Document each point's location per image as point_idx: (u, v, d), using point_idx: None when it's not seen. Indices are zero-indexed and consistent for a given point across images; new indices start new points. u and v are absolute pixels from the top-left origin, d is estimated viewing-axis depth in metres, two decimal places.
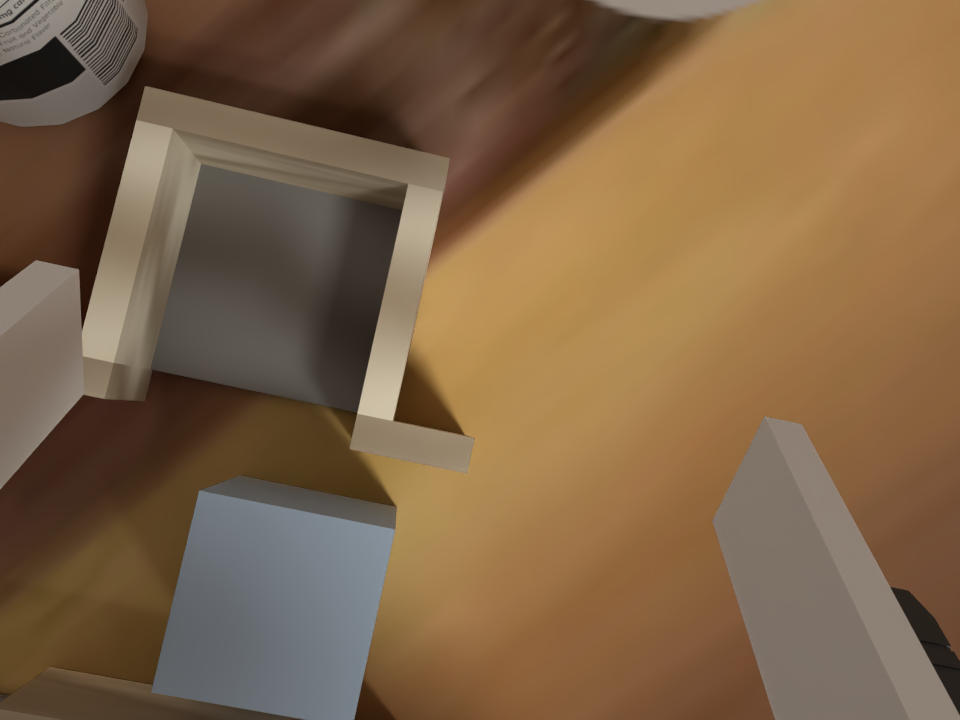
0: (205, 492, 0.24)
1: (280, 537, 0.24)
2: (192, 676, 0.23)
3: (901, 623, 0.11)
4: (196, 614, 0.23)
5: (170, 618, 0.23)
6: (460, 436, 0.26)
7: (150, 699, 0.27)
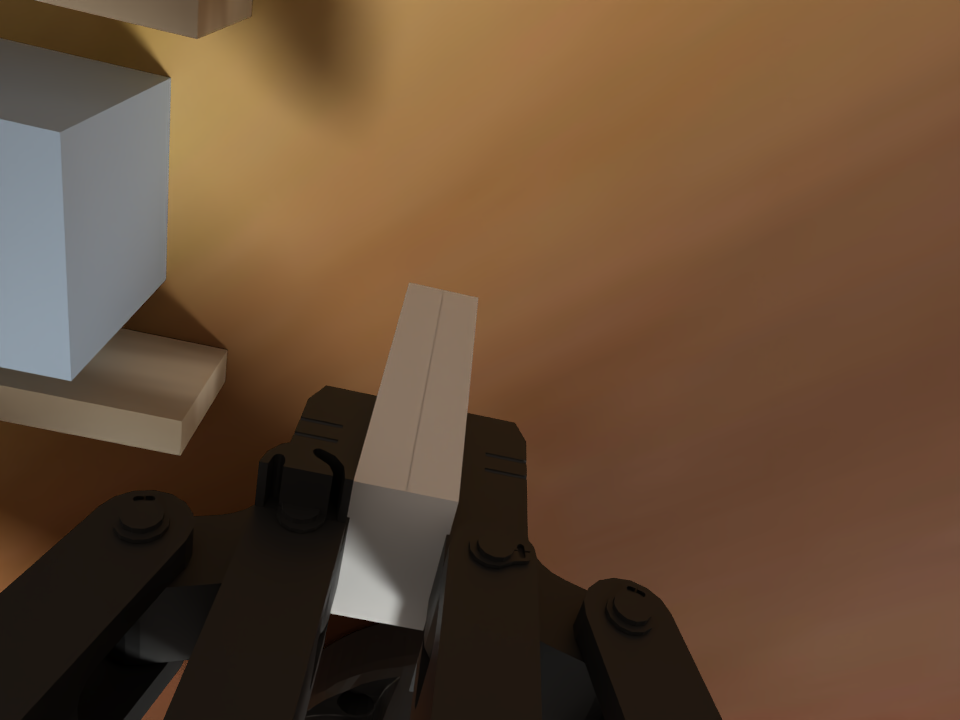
0: None
1: None
2: None
3: (456, 428, 0.12)
4: None
5: None
6: None
7: None
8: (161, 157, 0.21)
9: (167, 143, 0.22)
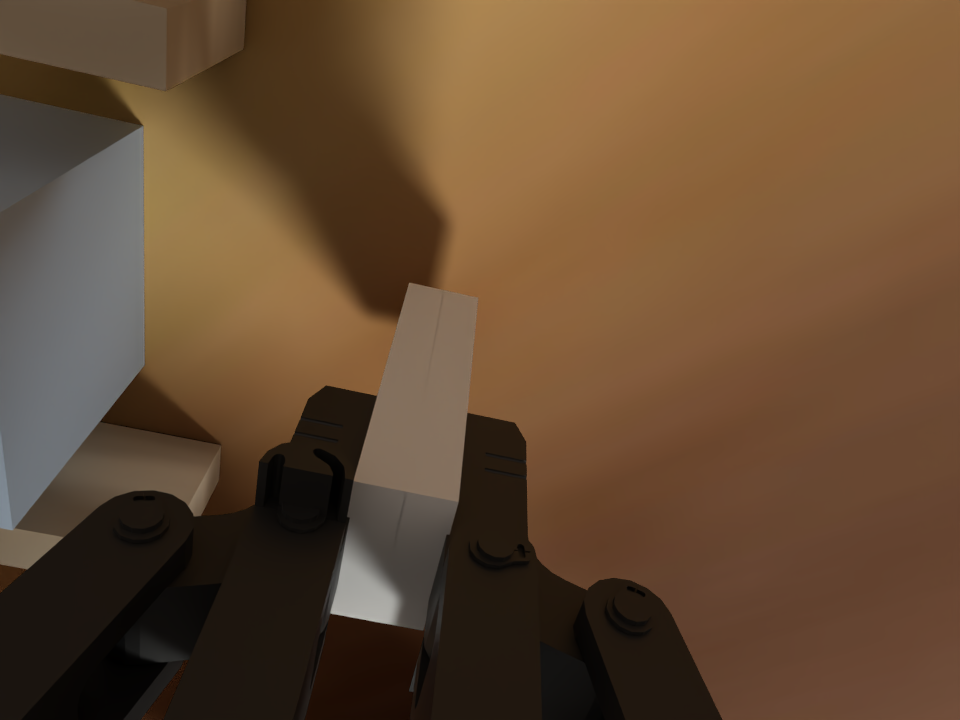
0: None
1: None
2: None
3: (456, 429, 0.12)
4: None
5: None
6: (132, 4, 0.11)
7: None
8: (133, 224, 0.17)
9: (141, 205, 0.17)
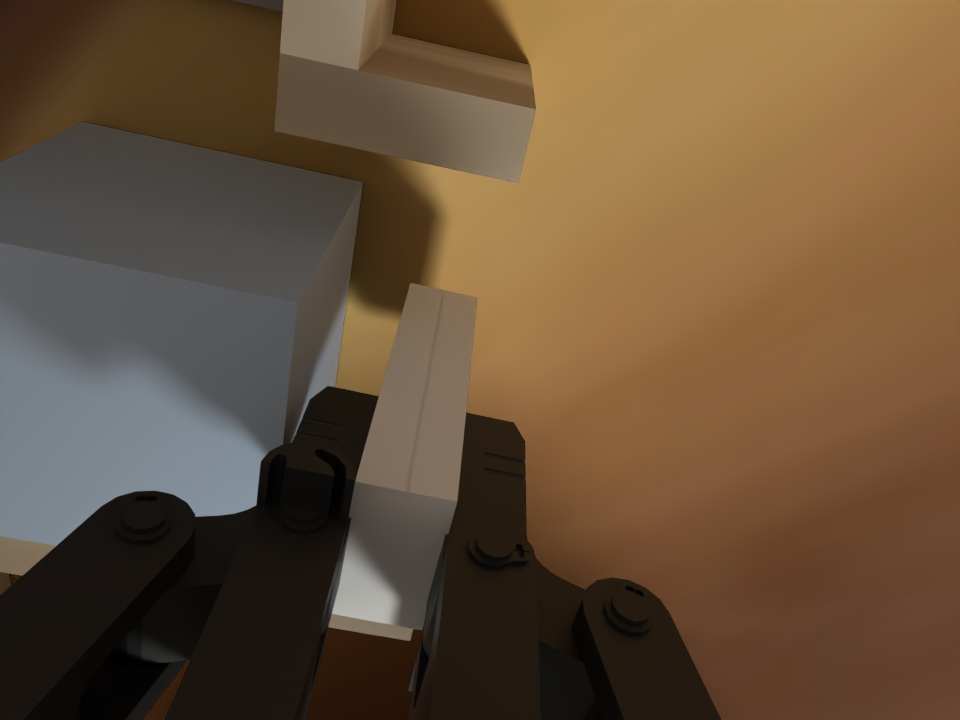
0: None
1: (74, 311, 0.12)
2: None
3: (454, 428, 0.12)
4: None
5: None
6: (505, 105, 0.12)
7: None
8: (346, 277, 0.17)
9: (351, 258, 0.18)
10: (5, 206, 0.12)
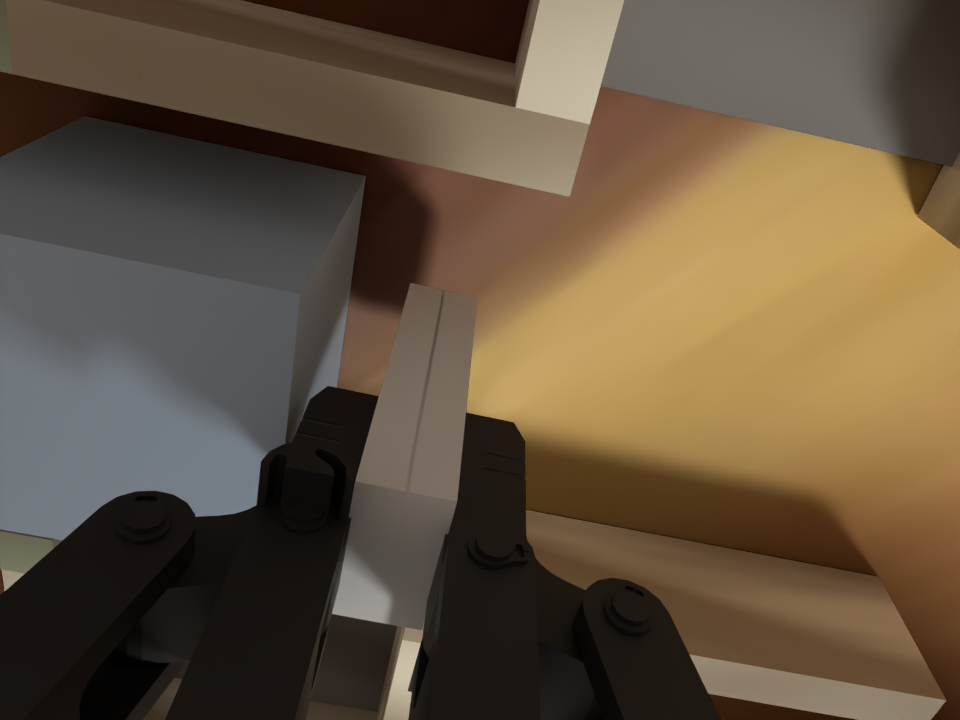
0: None
1: (77, 303, 0.12)
2: None
3: (454, 428, 0.12)
4: None
5: None
6: None
7: (574, 552, 0.20)
8: (349, 272, 0.17)
9: (354, 253, 0.18)
10: (8, 198, 0.12)
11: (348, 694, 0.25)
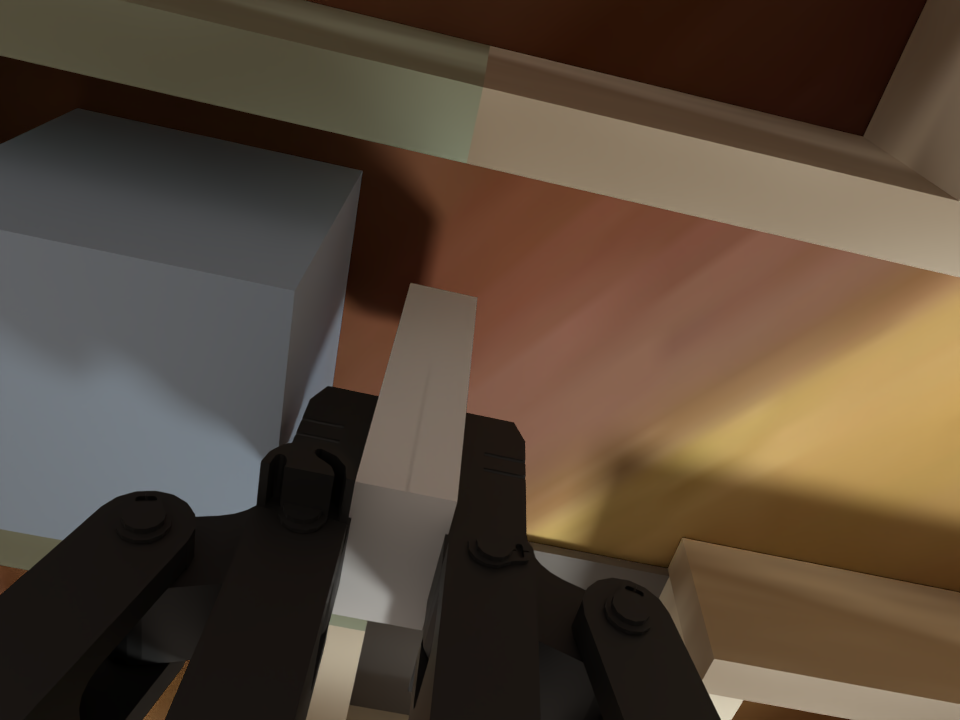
0: None
1: (67, 298, 0.12)
2: None
3: (454, 428, 0.12)
4: None
5: None
6: None
7: (836, 601, 0.21)
8: (345, 267, 0.17)
9: (350, 249, 0.17)
10: None
11: None
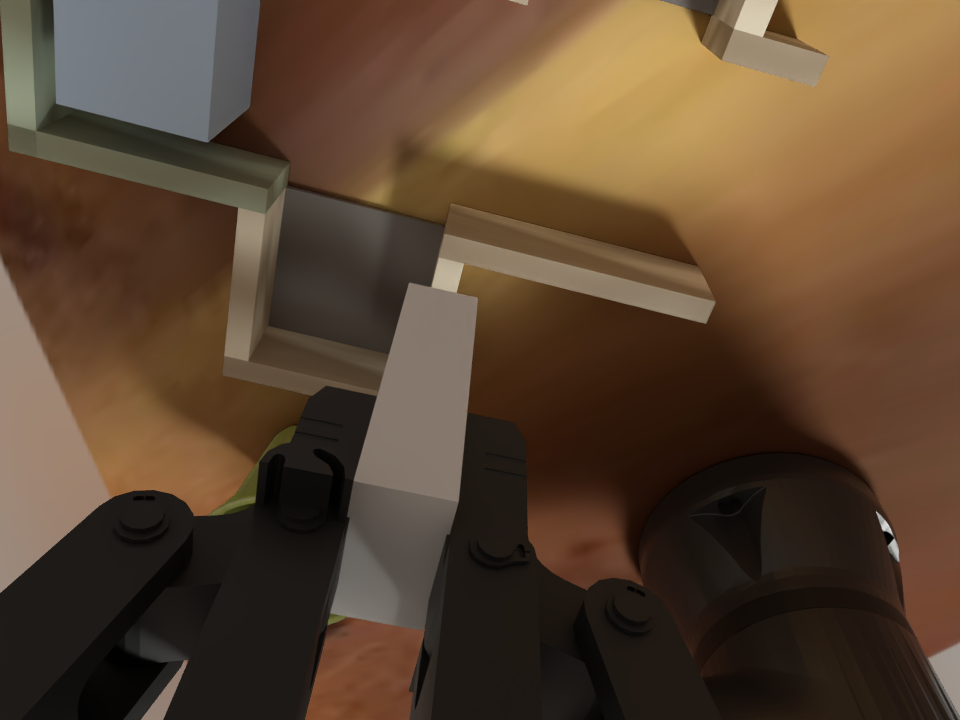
0: None
1: None
2: (83, 94, 0.31)
3: (456, 428, 0.12)
4: (74, 45, 0.30)
5: (56, 47, 0.30)
6: (817, 54, 0.31)
7: (529, 233, 0.38)
8: (255, 20, 0.34)
9: (258, 12, 0.34)
10: None
11: None
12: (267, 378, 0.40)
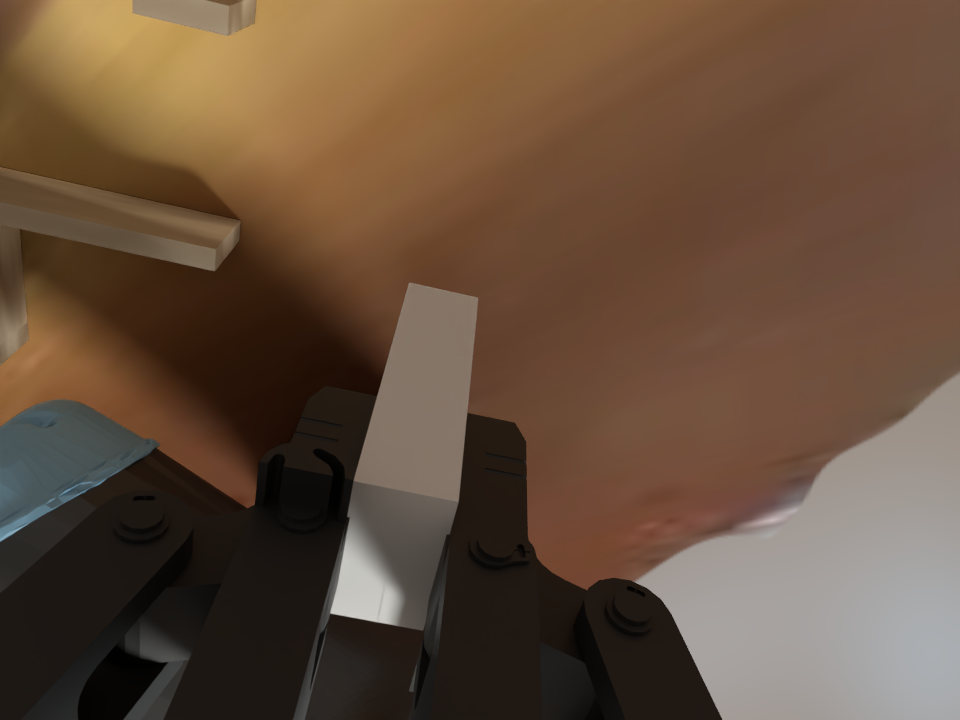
0: None
1: None
2: None
3: (456, 429, 0.12)
4: None
5: None
6: (217, 4, 0.33)
7: (56, 190, 0.40)
8: None
9: None
10: None
11: None
12: None
